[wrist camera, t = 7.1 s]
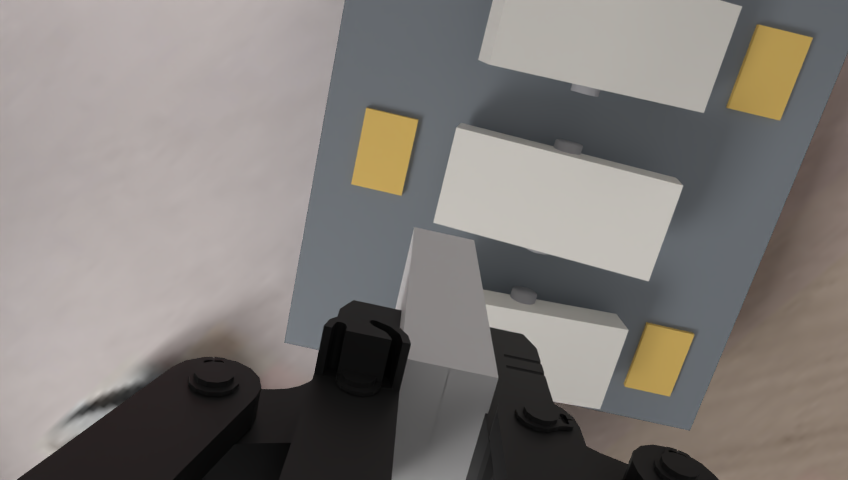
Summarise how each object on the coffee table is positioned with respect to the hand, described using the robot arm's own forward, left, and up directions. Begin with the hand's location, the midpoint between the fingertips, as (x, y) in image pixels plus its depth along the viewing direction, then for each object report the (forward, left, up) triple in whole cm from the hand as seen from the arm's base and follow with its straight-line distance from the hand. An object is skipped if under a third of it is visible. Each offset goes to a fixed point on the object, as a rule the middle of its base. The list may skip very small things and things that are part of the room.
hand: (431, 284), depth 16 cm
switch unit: (+4, +1, -15) cm, 16 cm away
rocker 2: (+4, +1, -9) cm, 10 cm away
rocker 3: (+4, -5, -9) cm, 11 cm away
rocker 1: (+4, +7, -9) cm, 12 cm away
